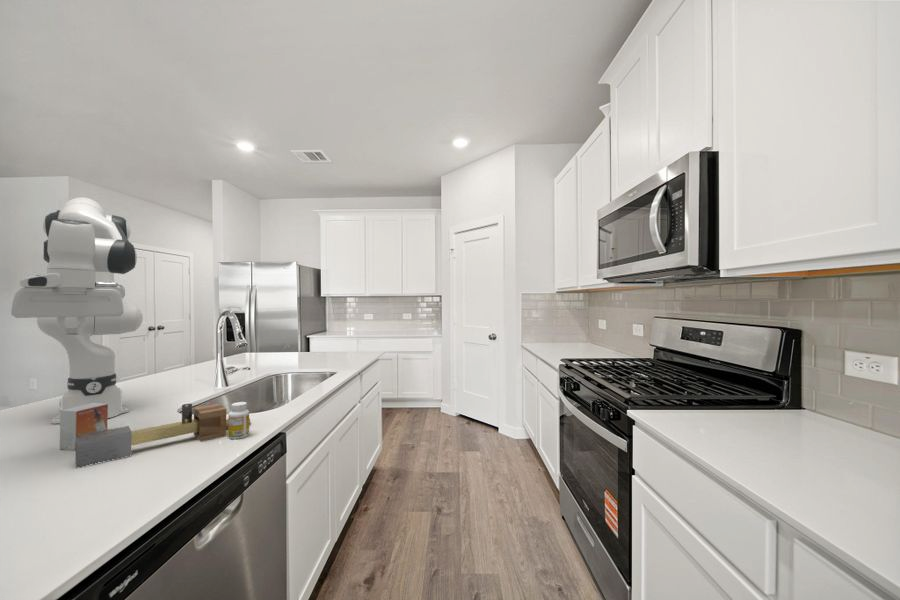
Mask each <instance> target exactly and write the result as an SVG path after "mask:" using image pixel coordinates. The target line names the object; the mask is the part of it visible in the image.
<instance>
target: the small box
mask: <svg viewBox="0 0 900 600" xmlns="http://www.w3.org/2000/svg"><path fill="white" fill-rule="evenodd" d="M59 414H60V423H59V446H58V447H59V449H60V450H67V449H68V450H67V451H76V435H81V434H87V433H92V432H98V431H104V430H108V420H109V418H108V404H101V403H90V404H87V405H83V406H79V407H74V408H70V409H65V410H61V411H60V410H59Z"/></svg>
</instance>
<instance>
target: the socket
mask: <svg viewBox="0 0 900 600" xmlns="http://www.w3.org/2000/svg"><path fill="white" fill-rule="evenodd" d="M198 418H199V432H194V433H193V436H195V438H197V440H198V441H199V442H204V441H209V440H214V439H218V438H222V437H226V436H227V430H226V420H227V408H226V407H224V405H221V403H214V404H213V403H212V404H208V405H202V406H197V407H193V419H198Z"/></svg>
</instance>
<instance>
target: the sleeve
mask: <svg viewBox="0 0 900 600" xmlns="http://www.w3.org/2000/svg"><path fill="white" fill-rule="evenodd" d="M132 431H133V430H131V428H130V427H129V425H127V426H122V427H120V426H119V427H115V428H110V429H107V430H104V431H98V432H92V433H87V434H81V435H76V450H75V457H74V458H75V460H76V461H75V468H76V469H78V468H77V467H80V468H83V467H82V466H84V467H87V466H86V465H89V466H91V465H90V464H93V465H96V464H95V463H98V462H102V463H104V462H103V461H106V462H108V461H107V460H111V461H113V460H112V459H115V460H118V459H117V458H120V459H122V458H121V457H124V458H126V457H125V456H129V457H131V456H132V446H131V437H132ZM130 455H131V456H130ZM98 464H99V463H98Z"/></svg>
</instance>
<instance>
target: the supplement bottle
mask: <svg viewBox="0 0 900 600" xmlns="http://www.w3.org/2000/svg"><path fill="white" fill-rule="evenodd" d="M230 406H231V407H230V409H231V410H230V412H229V413H228V414H227V415H228V417H227V419H228V430H227V431H228V433H227V436H228V439H230V440H238V439H243V438H245V437H248V436H249V435H250V423H249V418H250V411H249V410H248V409H247V407H248V403H247V401H239V402H234V403H231V405H230Z"/></svg>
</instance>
